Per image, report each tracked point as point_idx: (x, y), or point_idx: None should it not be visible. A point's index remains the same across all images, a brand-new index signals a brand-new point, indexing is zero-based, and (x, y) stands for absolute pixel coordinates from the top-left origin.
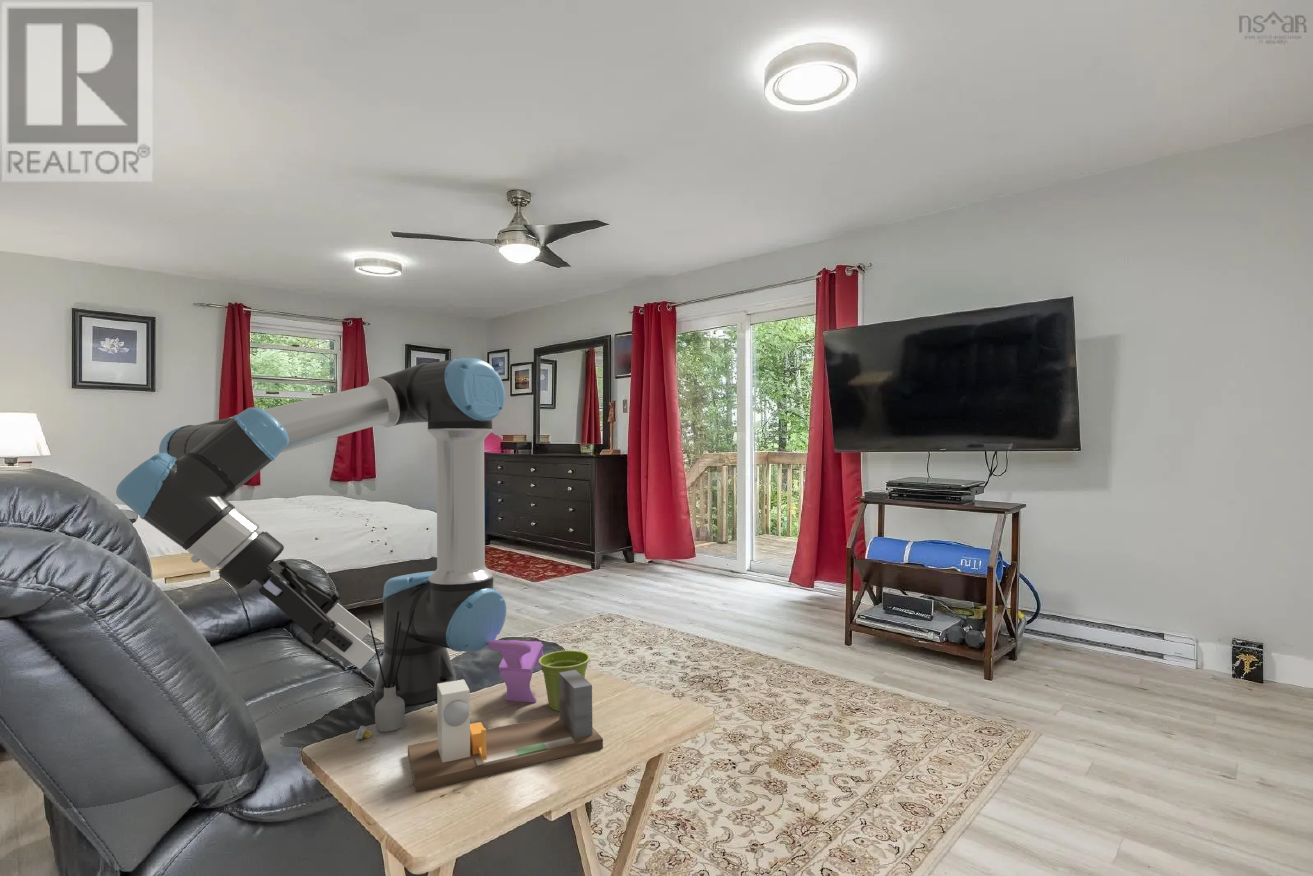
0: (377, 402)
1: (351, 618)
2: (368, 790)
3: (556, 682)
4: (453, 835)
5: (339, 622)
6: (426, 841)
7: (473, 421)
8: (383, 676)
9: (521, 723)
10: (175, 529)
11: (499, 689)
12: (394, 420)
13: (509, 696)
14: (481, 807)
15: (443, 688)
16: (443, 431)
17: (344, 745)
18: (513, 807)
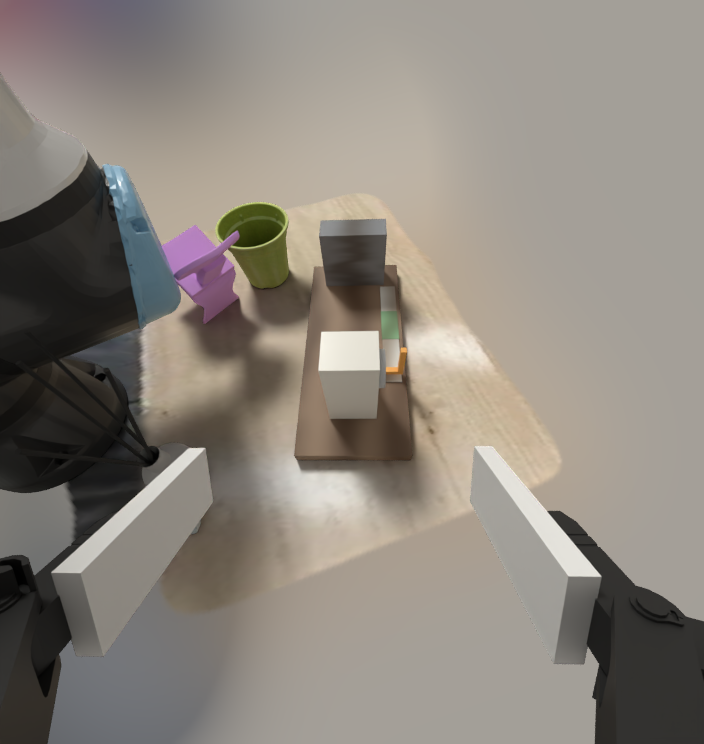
0: None
1: (160, 505)
2: (376, 522)
3: (276, 256)
4: (526, 432)
5: (152, 560)
6: (531, 461)
7: None
8: (135, 462)
9: (312, 319)
10: None
11: (162, 323)
12: None
13: (209, 316)
14: (475, 396)
15: (348, 364)
16: None
17: (196, 554)
18: (486, 368)
